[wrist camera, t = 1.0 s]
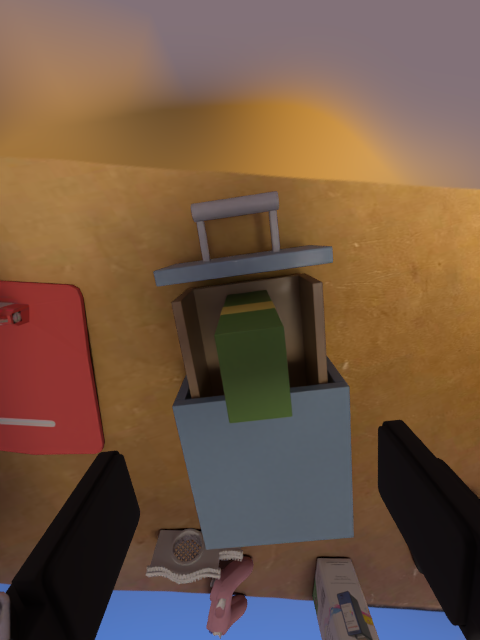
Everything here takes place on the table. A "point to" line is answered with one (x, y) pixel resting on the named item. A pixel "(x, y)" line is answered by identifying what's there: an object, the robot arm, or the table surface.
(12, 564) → the table surface
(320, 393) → the cabinet
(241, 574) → the pink curved piece
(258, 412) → the green banded block
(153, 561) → the garden wall model
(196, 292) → the drawer
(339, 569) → the ink box
